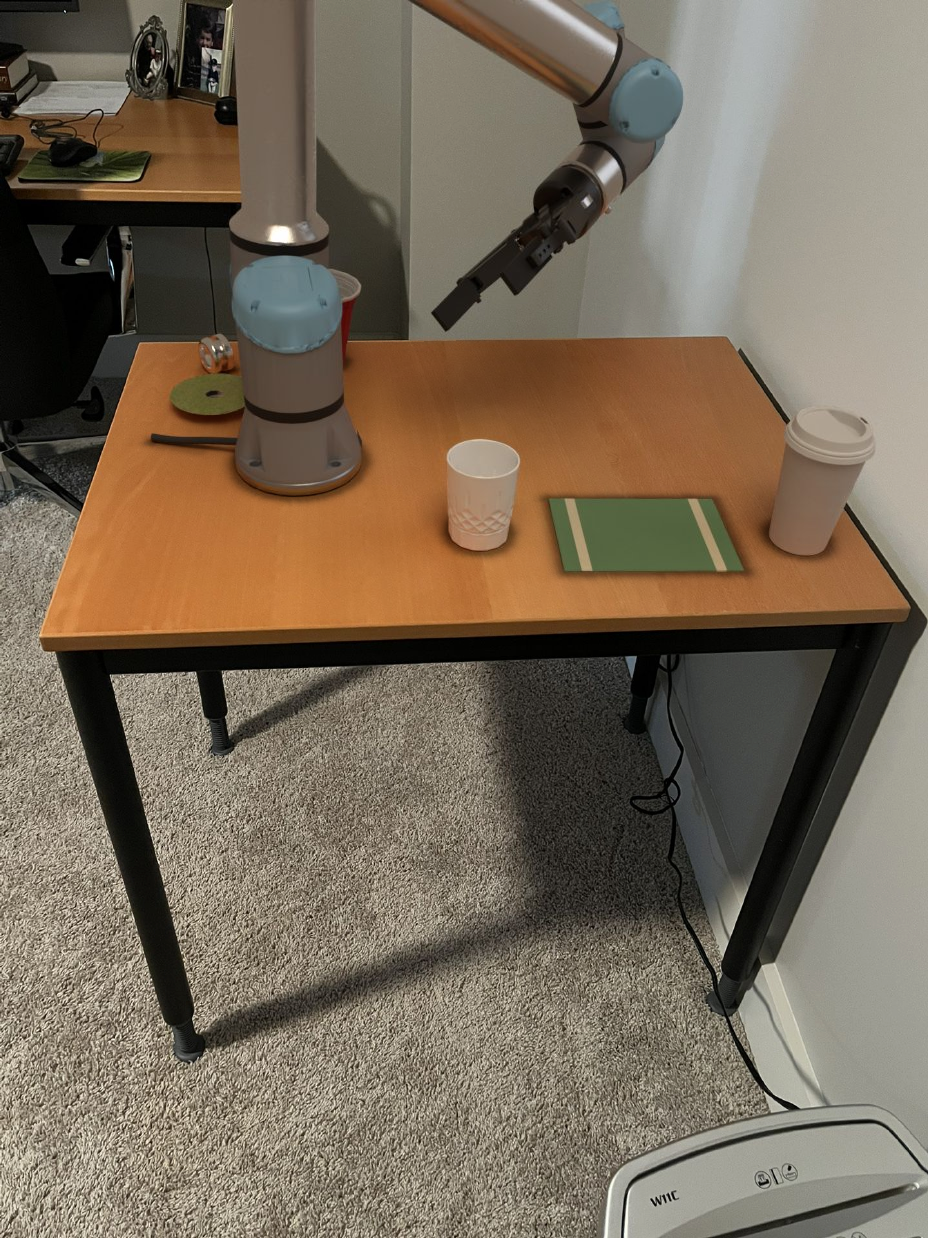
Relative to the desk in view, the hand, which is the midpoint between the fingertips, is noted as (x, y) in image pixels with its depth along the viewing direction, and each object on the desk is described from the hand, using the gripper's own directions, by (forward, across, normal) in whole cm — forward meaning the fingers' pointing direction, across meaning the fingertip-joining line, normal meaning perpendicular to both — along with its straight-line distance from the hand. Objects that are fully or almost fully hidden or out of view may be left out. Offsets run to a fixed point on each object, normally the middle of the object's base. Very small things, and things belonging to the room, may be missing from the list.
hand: (472, 303), depth 107 cm
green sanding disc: (+14, +40, +8) cm, 43 cm away
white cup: (+15, +5, -20) cm, 25 cm away
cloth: (+4, -4, -31) cm, 32 cm away
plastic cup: (-4, +41, +1) cm, 42 cm away
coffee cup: (-7, -13, -43) cm, 46 cm away
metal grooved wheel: (+7, +47, +10) cm, 48 cm away
